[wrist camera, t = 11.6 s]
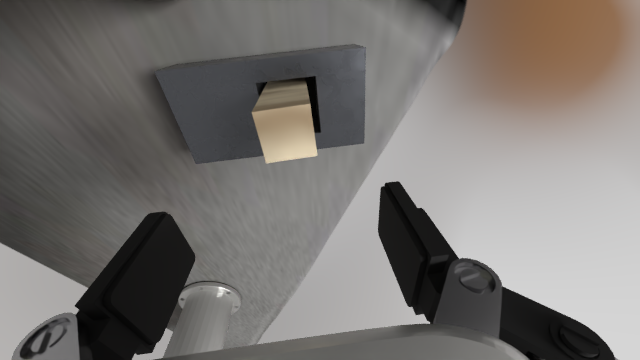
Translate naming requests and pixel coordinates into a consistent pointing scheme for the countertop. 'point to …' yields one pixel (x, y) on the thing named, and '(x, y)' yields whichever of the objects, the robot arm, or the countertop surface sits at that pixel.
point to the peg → (285, 121)
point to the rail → (245, 89)
